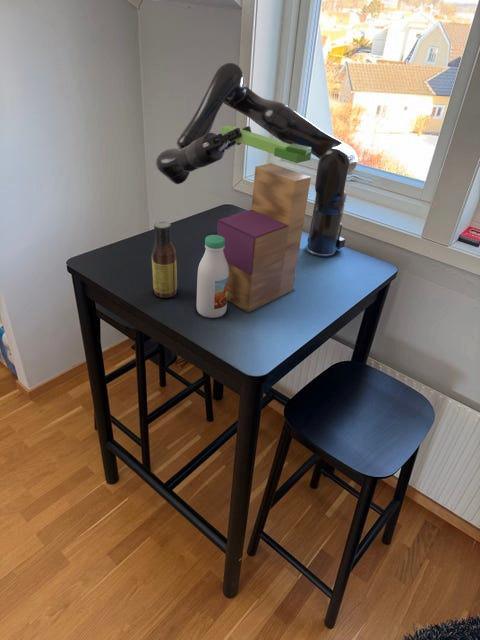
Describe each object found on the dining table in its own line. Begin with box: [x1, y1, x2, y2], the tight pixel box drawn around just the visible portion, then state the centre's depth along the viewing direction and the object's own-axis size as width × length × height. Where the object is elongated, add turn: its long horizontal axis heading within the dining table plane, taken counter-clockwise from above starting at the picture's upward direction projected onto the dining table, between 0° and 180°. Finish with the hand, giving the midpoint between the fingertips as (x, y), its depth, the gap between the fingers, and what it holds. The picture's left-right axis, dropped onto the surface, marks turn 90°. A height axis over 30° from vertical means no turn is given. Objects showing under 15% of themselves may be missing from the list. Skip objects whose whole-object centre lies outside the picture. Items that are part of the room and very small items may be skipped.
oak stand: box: [227, 162, 312, 313], centre depth 120 cm, size 13×18×32 cm
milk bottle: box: [196, 234, 229, 319], centre depth 114 cm, size 8×8×20 cm
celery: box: [220, 125, 312, 164], centre depth 116 cm, size 27×6×3 cm, turn 45°
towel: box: [216, 209, 288, 275], centre depth 118 cm, size 12×12×10 cm
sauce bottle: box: [151, 220, 178, 299], centre depth 119 cm, size 6×6×20 cm
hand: (244, 131), depth 119 cm, fingers closed on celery, 3 cm apart
